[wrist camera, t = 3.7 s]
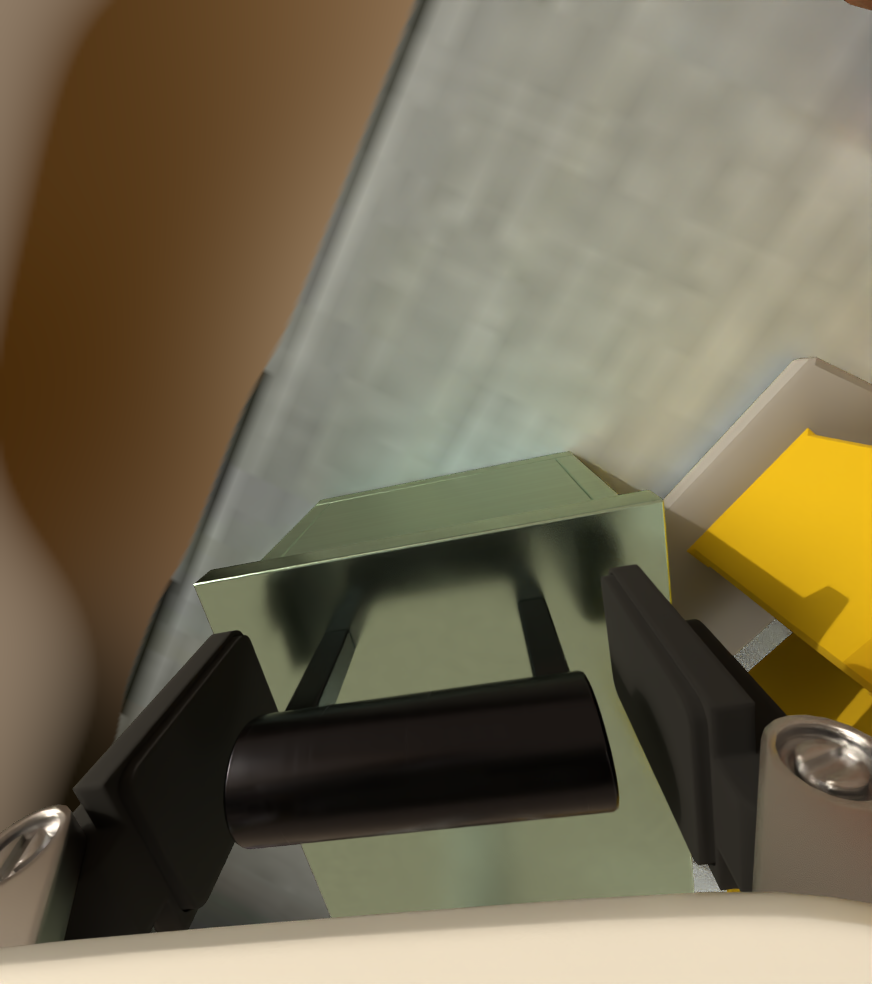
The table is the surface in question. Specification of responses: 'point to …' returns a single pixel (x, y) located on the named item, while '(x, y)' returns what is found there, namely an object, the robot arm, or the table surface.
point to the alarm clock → (787, 540)
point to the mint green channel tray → (444, 502)
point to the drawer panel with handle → (452, 714)
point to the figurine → (861, 3)
